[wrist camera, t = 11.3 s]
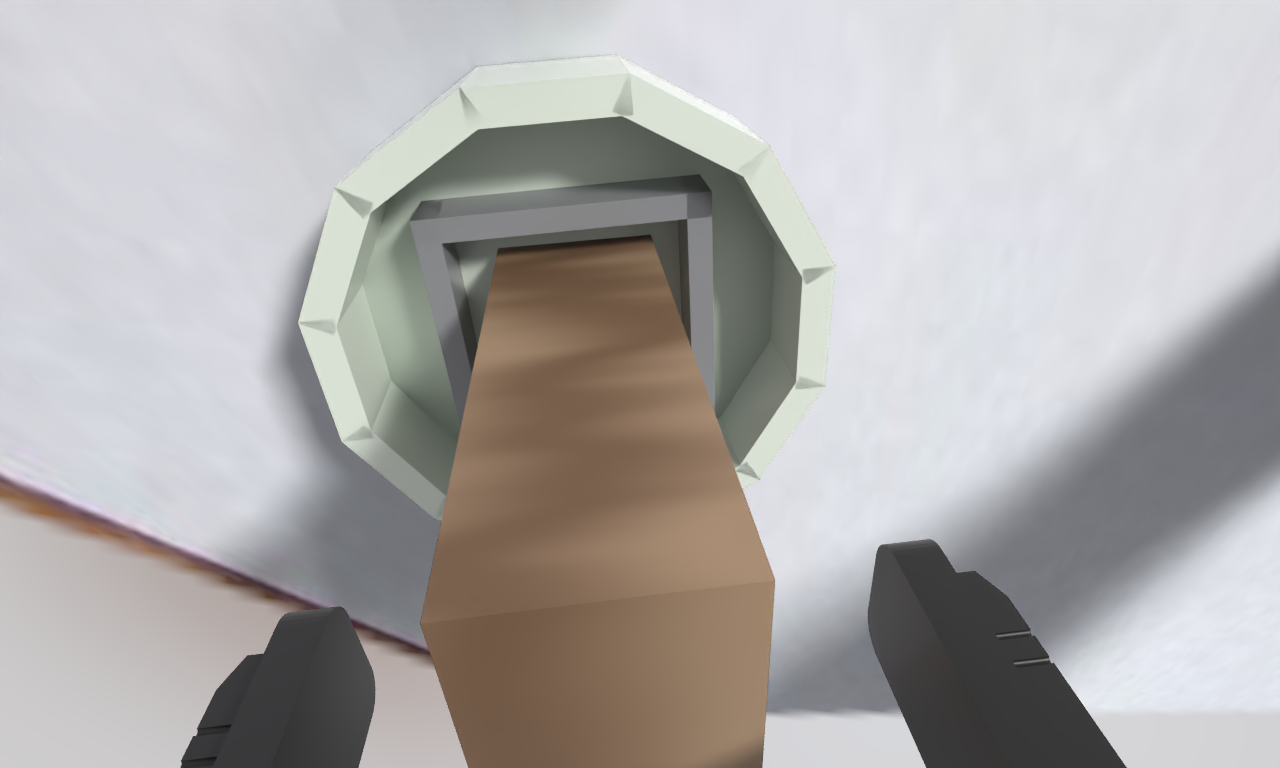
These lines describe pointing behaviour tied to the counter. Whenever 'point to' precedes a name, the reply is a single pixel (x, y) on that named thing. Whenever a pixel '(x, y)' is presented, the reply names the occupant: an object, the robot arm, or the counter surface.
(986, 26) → the counter surface
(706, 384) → the pale green faceted dish
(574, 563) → the brown wooden block
